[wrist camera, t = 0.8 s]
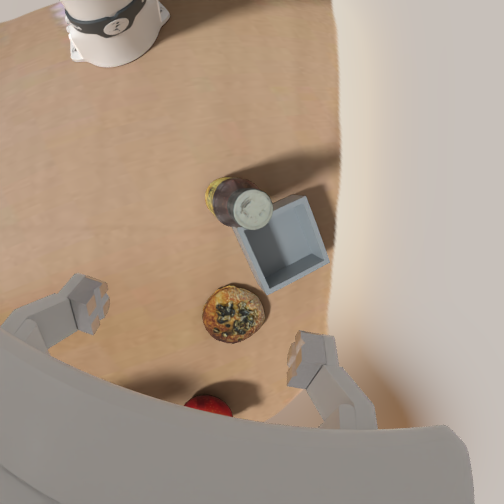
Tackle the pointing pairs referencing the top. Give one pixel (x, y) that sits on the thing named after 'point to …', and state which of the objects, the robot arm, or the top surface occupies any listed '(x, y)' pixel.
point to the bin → (284, 245)
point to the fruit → (209, 405)
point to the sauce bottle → (239, 203)
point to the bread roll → (233, 314)
